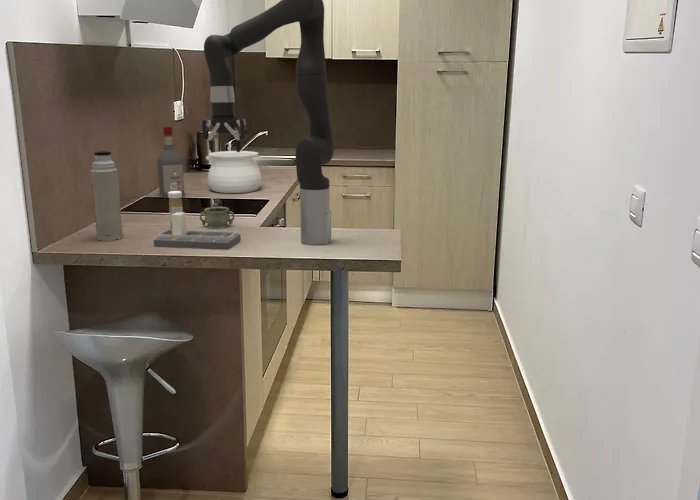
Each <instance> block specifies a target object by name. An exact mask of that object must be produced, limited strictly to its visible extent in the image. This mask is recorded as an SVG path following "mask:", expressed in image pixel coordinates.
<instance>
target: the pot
mask: <svg viewBox="0 0 700 500" xmlns="http://www.w3.org/2000/svg"><path fill="white" fill-rule="evenodd" d="M205 159H206V160H207V161H211V162H210V164H211V165H210V168H209V170H208V174H207V183H208V187H209V189H211V191H213V192H214V191H215V192H214V193H218V192H219V193H218V194H228V193H235V194H244V193H246V194H247V193H252V192H255V191H257V190H258V189H259V188H260V187H261V186H262V185H261V184H262V183H263V181H262V172H261V170H260V169H259V166H258V163H257V161H261V160H262V156H261V155H259V152H257V151H251V150H248V151H247V150H241V151H240V152H237V151H236V150H225V151H215V152H210V153H208V155H206V156H205Z"/></svg>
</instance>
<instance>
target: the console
mask: <svg viewBox="0 0 700 500" xmlns="http://www.w3.org/2000/svg"><path fill="white" fill-rule="evenodd" d="M187 233H188V234H187V235H172V234H173V233H172V230H170V229H165V230H163V231H160V232H159V233H157V234H156V238H155V239H153V246H154V247H159V248H184V249H191V248H192V249H209V250H210V249H211V250H212V249H213V250H229V249H231V248H232V247H234V246H235V245H237V244H238V243H240V242H241V241H242V236H241V234H240V233H239V231H237V232H236V231H215V230H212V231H211V230H208V231H207V230H188V229H187ZM240 240H241V241H240Z"/></svg>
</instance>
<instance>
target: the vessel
mask: <svg viewBox="0 0 700 500" xmlns="http://www.w3.org/2000/svg"><path fill="white" fill-rule="evenodd" d="M230 215H231V216H232V218H230V217H231V216H230ZM202 216H204V219H202ZM199 220H200V221H201V225H203V226H205V225H206V224H207V225H206V228H208V229H213V230H214V229H217V230H220V229H226V228H228V227H229V225H233V221H234V220H235V214H234V212H233V211H231V210H230V208H229V207H226V206H211V207H207V208H204V210H203V211H201V212H200V214H199ZM228 223H229V224H228Z"/></svg>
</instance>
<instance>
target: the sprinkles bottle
mask: <svg viewBox="0 0 700 500" xmlns="http://www.w3.org/2000/svg"><path fill="white" fill-rule="evenodd" d="M168 198H169V199H168V207H169V209H168V213H169V223H170V225H169V226H170V229H169V230H172V218H171V215H172V214H174V213H176V212H182V213H184V211H183V209H184V208H183V202H182V201H183V199H182V198H183V197H182V192H181V191H170V192H168Z"/></svg>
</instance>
